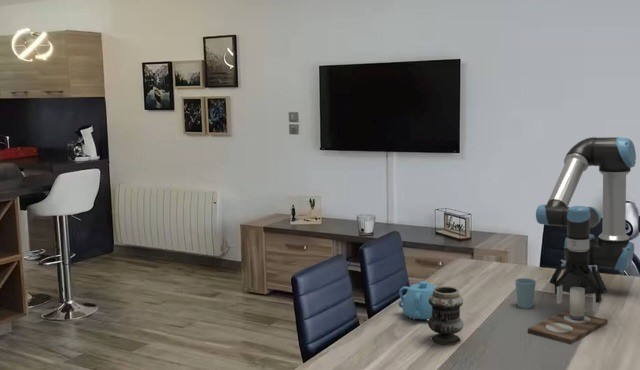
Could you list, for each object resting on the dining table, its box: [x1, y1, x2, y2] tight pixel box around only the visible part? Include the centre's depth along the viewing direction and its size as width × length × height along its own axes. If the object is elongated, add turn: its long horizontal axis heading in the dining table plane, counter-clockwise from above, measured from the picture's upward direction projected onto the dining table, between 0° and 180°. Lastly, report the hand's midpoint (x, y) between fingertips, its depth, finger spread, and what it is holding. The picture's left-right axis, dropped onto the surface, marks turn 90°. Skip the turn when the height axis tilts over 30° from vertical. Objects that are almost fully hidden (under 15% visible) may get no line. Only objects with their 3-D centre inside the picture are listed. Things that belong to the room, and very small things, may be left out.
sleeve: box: [569, 287, 586, 321], centre depth 238 cm, size 5×5×11 cm
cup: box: [514, 277, 537, 309], centre depth 260 cm, size 8×8×10 cm
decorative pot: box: [398, 280, 438, 320], centre depth 252 cm, size 16×16×14 cm
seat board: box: [527, 309, 608, 345], centre depth 235 cm, size 27×16×2 cm, turn 132°
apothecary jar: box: [427, 285, 464, 345], centre depth 227 cm, size 12×12×18 cm
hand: (577, 307), depth 238 cm, fingers open, 13 cm apart
